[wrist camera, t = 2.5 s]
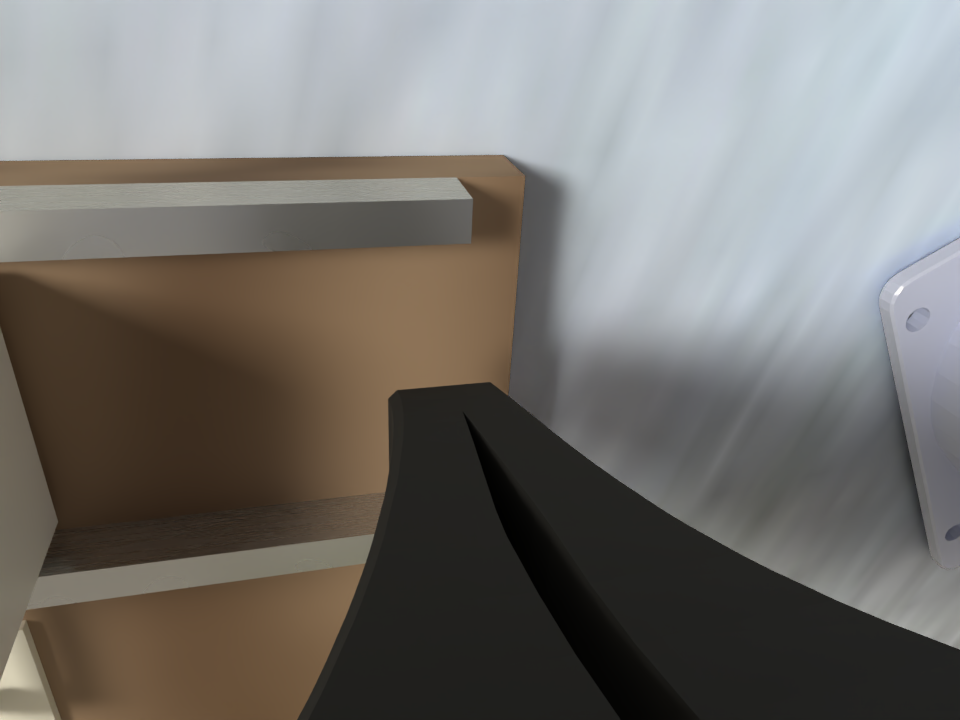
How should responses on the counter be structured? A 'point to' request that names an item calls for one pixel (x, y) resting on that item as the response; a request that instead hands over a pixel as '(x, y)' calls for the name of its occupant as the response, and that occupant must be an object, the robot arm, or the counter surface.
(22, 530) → the gauge carriage
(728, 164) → the counter surface
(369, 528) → the anvil and rails
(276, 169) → the gauge bed
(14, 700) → the gauge scale
